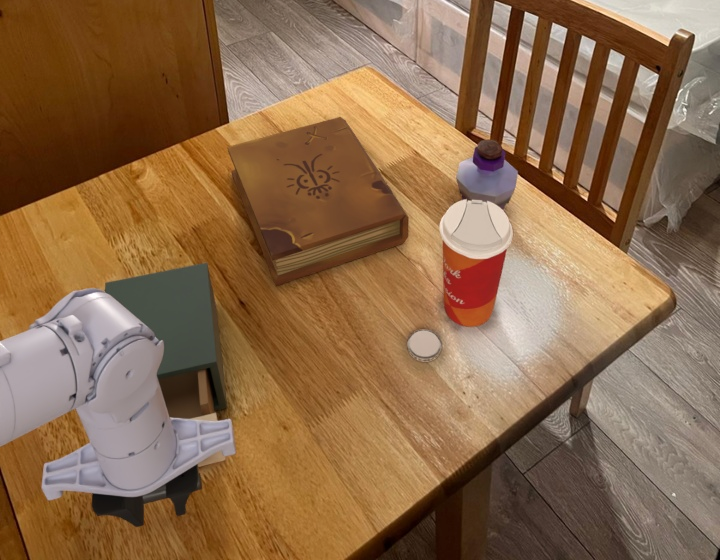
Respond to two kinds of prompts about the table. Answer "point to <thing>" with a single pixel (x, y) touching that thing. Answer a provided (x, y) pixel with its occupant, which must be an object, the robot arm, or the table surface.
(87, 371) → the robot arm
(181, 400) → the drawer
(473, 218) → the coffee cup
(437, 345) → the white bottle cap
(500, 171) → the potion bottle
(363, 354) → the table surface
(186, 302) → the cabinet
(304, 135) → the diary
